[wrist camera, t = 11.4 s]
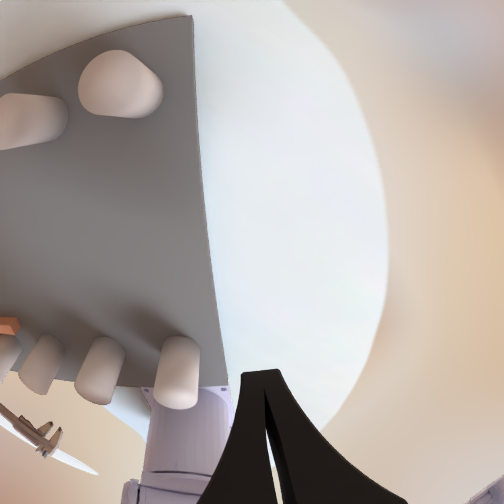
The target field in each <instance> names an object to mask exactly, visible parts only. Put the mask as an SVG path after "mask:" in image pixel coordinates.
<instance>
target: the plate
mask: <svg viewBox="0 0 504 504" xmlns="http://www.w3.org/2000/svg"><path fill="white" fill-rule="evenodd" d="M0 317H14V318H17V320H18V322H19V324H20V326H21V328H20V329H19V330H18V332H17V333H16V335H10V334H2V333H0V384H2V382H3V381H4V379H5V377H6V375H7V374H8V372H9V371H10V370H11V371H16V372H18V375H19V378H20V379H21V381H22V382H23V383H24V384H25V385H26V386H27V387H28V388H29V389H30V390H32V391H34V392H35V393H37V394H40V395H46V394H47V392H48V390H49V387H50V385H51V383H52V381H53V379H58V380H65V381H72V382H75V383H74V387H75V389H76V391H77V392H78V393H79V394H80V395H81V396H82V397H83V398H84V399H86V400H88V401H90V402H92V403H95V404H98V405H107V404H109V403H110V402H111V399H112V396H113V393H114V389H115V386H126V387H154V390H153V396H154V398H155V400H156V401H157V402H158V403H160V404H161V405H163V406H165V407H168V408H172V409H188V408H191V407H193V406H194V405H195V404H196V403H197V400H198V387H212V386H228V374H227V368H226V362H225V356H224V350H223V344H222V337H221V331H220V324H219V317H218V310H217V303H216V296H215V289H214V281H213V273H212V265H211V257H210V249H209V240H208V231H207V222H206V213H205V203H204V193H203V182H202V171H201V159H200V146H199V133H198V118H197V102H196V82H195V58H194V21H193V18H192V15H191V16H183V17H176V18H170V19H164V20H159V21H154V22H149V23H144V24H140V25H136V26H131V27H128V28H124V29H120V30H116V31H113V32H110V33H106V34H103V35H100V36H97V37H94V38H91V39H88V40H85V41H83V42H80V43H77V44H75V45H72V46H69V47H67V48H65V49H62V50H60V51H57V52H55V53H53V54H51V55H49V56H46V57H44V58H42V59H40V60H38V61H36V62H34V63H32V64H30V65H28V66H26V67H24V68H22V69H21V70H19V71H17V72H15V73H13V74H12V75H10V76H8V77H7V78H5V79H3V80H2V81H0Z"/></svg>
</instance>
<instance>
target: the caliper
mask: <svg viewBox="0 0 504 504" xmlns="http://www.w3.org/2000/svg"><path fill="white" fill-rule="evenodd" d="M0 414H1V415H2V416H3V417H4V418H5V419H7V420H8V421H9V422H10V423H11V424H12V425H13V427H14V429H15V430H16V431H17V432H19V433H20V434H21V435H22V436H24V437H25V438H26V439H27V440H29V441H30V442H31V443H33V444H34V445H35V446H37V447H38V446H39V447H38V448H37V449H36V453H37V454H39V453H42V456H43V458H44V459H45V457H46V456H47V455H48V454H49V455H51V456H52V455H53V453H54V452H55V451H56V449H57V448H58V446H59V443H60V440H61V437H62V434H63V432H62V429H61V427H59V428H58V430H57V431H56V432H55V434H54V435H53V436H52V437H51V439H50V440H49V441H48V440H47V439H45V438H44V437H46V435H47V434H48V433H49V432H50V430H51V428H52V427H53V422H48V423H46V424H45V425H43V426H42V427H40V428H38V429H37V430H36V429H35V428H34V427H33V425H32V424H31V423H30V422H29V421H28V420H26V419H25V418H24V417H23V416H22V415H21V416H20V417H19V418H18V417H16V416H15V415H14V414H13V413H12V412H10V411H9V410H8V409H7V408H5V406H3V405H2V404H1V403H0Z"/></svg>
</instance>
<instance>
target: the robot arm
mask: <svg viewBox="0 0 504 504" xmlns="http://www.w3.org/2000/svg"><path fill="white" fill-rule="evenodd" d="M140 388H141V390H142V392H143V394H144V396H145V398H146V400H147V402H148V404H149V406H150V407H151V409H152V412H151V418H150V424H149V430H148V437H147V444H146V451H145V459H144V467H143V472H142V476H141V482H140V484H138V480H136V479H131V480H130V481H128V482H126V483H125V484H124V487H123V492H122V499H121V504H278V503H277V498H276V492H275V488H274V482H273V477H272V471H271V466H270V460H269V454H268V449H267V440H266V431H267V435H268V439H269V442H270V446H271V450H272V454H273V457H274V461H275V465H276V468H277V472H278V477H279V482H280V488H281V493H282V500H283V504H408V503H407V502H406V500H405V499H403V498H401V497H399V496H397V495H396V494H394V493H392V492H390V491H388V490H387V489H385V488H383V487H382V486H380V485H379V484H377V483H376V482H374V481H373V480H371V479H370V478H369V477H367V476H366V475H364V474H363V473H362V472H361V471H359V470H358V469H357V468H356V467H354V466H353V465H352V464H351V463H349V462H348V461H347V460H346V459H345V458H344V457H343V456H342V455H341V454H340V453H339V452H338V451H337V450H336V449H334V447H333V446H332V445H331V444H330V443H329V442H328V441H327V440H326V439H325V438H324V437H323V436H322V435H321V433H320V432H319V431H318V430H317V429H316V427H315V426H314V425H313V424H312V422H311V421H310V420H309V418H308V417H307V416H306V414H305V413H304V411H303V410H302V409H301V407H300V406H299V404H298V403H297V401H296V400H295V398H294V397H293V395H292V393H291V391H290V390H289V388H288V386H287V384H286V382H285V381H284V378H283V376H282V374H281V372H280V370H279V369H270V370H261V371H252V372H243V373H242V374H241V385H240V394H239V399H238V405H237V409H236V413H235V415H234V409H233V404H232V399H231V393H230V387H229V382H228V386H212V387H198V400H197V403H196V404H195V405H194V406H193V407H191V408H188V409H172V408H168V407H165V406H163V405H161V404H160V403H158V402H157V401H156V400H155V398H154V396H153V390H154V387H140ZM465 504H504V475H502V476H501V477H500V478H498V479H497V480H496V481H494V482H492V483H491V484H490V485H488V486H487V487H485V488H484V489H483V490H481V491H480V492H479V493H477V494H476V495H475V496H473V497H472V498H471V499H470V500H469V501H468V502H467V503H465Z"/></svg>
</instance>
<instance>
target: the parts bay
mask: <svg viewBox="0 0 504 504" xmlns="http://www.w3.org/2000/svg"><path fill="white" fill-rule="evenodd" d="M20 328H21V326H20V324H19V322H18V320H17V318H14V317H0V333H2V334H10V335H16V333H17V332H18V330H19V329H20Z"/></svg>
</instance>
